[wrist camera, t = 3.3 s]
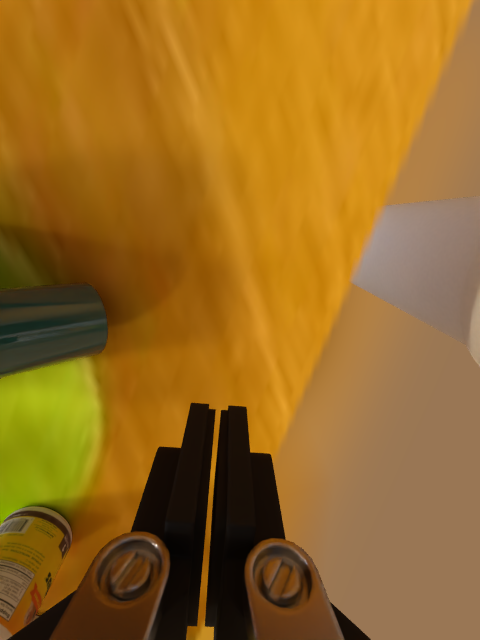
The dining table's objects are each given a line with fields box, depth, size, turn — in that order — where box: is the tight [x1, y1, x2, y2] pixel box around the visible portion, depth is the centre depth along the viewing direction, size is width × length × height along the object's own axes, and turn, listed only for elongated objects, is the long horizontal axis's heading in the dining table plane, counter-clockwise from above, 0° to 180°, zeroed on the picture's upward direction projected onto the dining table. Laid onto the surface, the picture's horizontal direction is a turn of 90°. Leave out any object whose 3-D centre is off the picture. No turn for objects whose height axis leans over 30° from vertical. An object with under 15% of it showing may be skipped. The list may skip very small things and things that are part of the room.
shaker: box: [0, 283, 108, 378], centre depth 17 cm, size 8×4×8 cm, turn 84°
